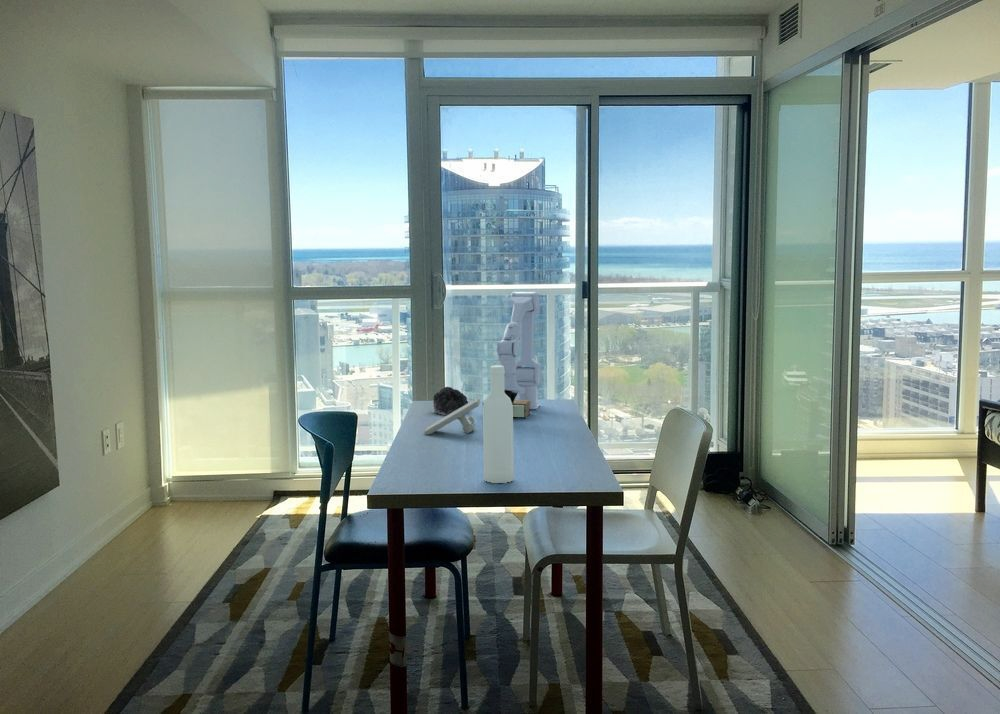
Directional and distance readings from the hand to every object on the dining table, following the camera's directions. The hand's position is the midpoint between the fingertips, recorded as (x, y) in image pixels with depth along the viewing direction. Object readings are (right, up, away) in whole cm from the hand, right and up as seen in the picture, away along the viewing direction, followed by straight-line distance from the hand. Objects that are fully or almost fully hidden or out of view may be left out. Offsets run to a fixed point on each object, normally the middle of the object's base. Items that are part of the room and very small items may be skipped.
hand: (508, 411), depth 290 cm
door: (-1, -2, +2) cm, 3 cm away
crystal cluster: (-21, -1, +15) cm, 26 cm away
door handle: (-19, -5, -14) cm, 24 cm away
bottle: (-3, -13, -76) cm, 77 cm away
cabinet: (-1, -2, +7) cm, 7 cm away
